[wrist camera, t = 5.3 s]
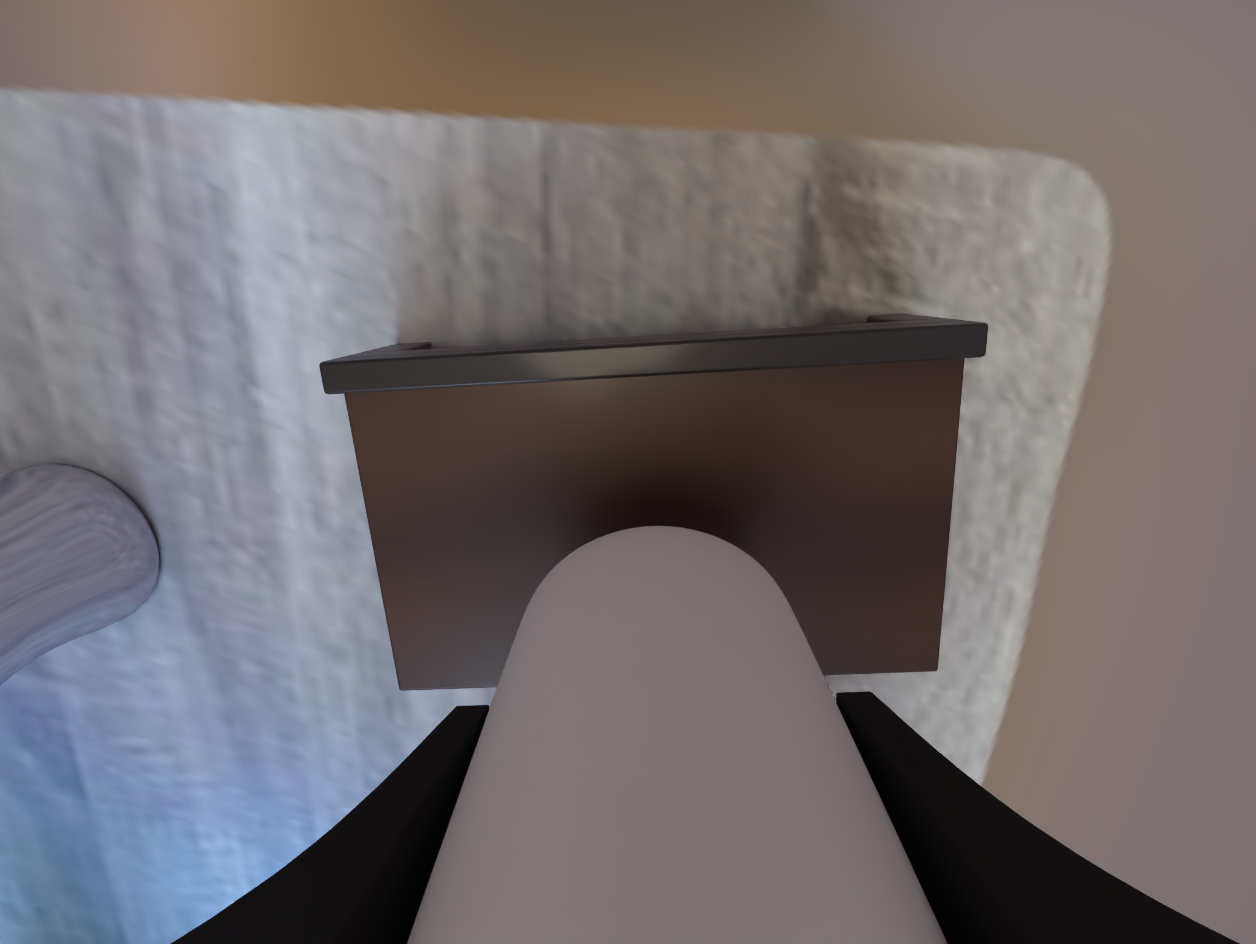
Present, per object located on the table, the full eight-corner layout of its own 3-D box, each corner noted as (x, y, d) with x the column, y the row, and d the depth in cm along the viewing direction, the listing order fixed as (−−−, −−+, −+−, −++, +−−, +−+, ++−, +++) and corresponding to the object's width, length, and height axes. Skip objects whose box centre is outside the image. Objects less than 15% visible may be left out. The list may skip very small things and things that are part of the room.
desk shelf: (888, 605, 22) (954, 693, 18) (439, 624, 23) (385, 713, 18) (906, 313, 20) (990, 322, 15) (394, 343, 20) (317, 362, 16)
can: (479, 563, 15) (-119, 1616, 3) (754, 481, 14) (1301, 1439, 2) (573, 785, 16) (415, 1992, 5) (822, 721, 16) (1331, 1948, 4)
